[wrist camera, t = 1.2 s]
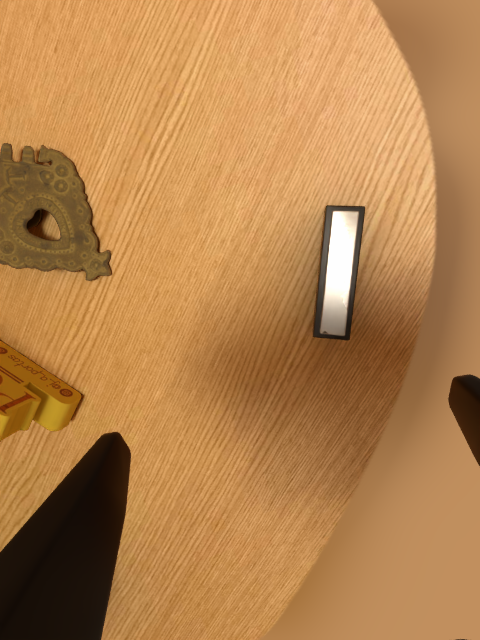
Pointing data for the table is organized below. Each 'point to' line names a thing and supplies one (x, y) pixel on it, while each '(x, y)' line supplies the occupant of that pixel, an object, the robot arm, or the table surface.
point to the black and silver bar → (338, 271)
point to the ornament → (55, 197)
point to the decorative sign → (32, 395)
